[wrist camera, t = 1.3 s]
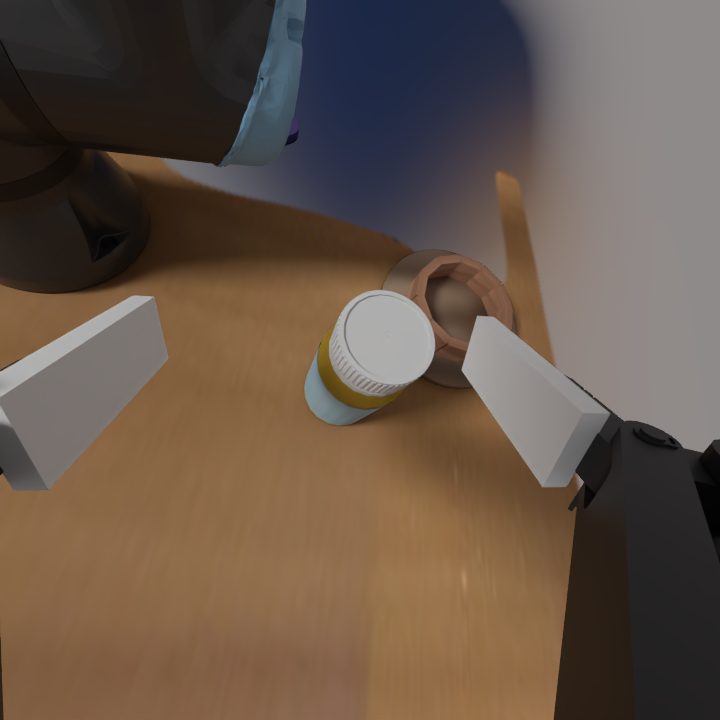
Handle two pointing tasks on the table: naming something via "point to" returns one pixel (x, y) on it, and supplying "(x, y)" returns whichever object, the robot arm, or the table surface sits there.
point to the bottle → (368, 357)
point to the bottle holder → (450, 305)
